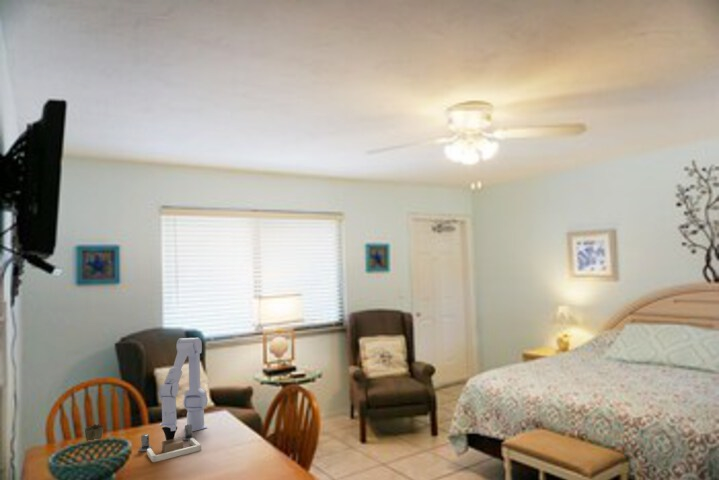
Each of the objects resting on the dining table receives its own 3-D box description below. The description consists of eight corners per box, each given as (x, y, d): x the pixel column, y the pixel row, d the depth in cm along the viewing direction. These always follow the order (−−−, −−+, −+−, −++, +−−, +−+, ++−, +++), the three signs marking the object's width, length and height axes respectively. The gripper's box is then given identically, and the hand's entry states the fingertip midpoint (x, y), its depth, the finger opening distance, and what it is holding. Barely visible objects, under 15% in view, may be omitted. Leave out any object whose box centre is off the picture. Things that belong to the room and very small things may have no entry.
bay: (146, 454, 197) (146, 449, 197) (193, 442, 208) (193, 437, 208) (152, 462, 187) (152, 457, 187) (201, 450, 198) (201, 445, 198)
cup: (80, 447, 209) (80, 428, 209) (94, 441, 216) (94, 423, 216) (94, 448, 207) (93, 429, 207) (107, 442, 214) (107, 424, 214)
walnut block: (162, 451, 200) (162, 441, 200) (179, 446, 204) (179, 437, 204) (166, 456, 194) (165, 446, 195) (183, 451, 198) (183, 441, 199)
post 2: (181, 439, 213) (181, 425, 213) (192, 436, 216) (192, 422, 216) (184, 442, 209) (184, 428, 209) (196, 439, 212) (195, 425, 212)
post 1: (138, 449, 203) (137, 435, 203) (150, 446, 205) (150, 432, 206) (140, 452, 198) (139, 438, 199) (152, 449, 201) (152, 435, 202)
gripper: (155, 410, 208) (156, 441, 207) (163, 417, 196) (164, 451, 195) (172, 406, 212) (173, 437, 211) (180, 413, 200) (181, 446, 199)
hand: (170, 443), depth 203 cm, fingers closed
